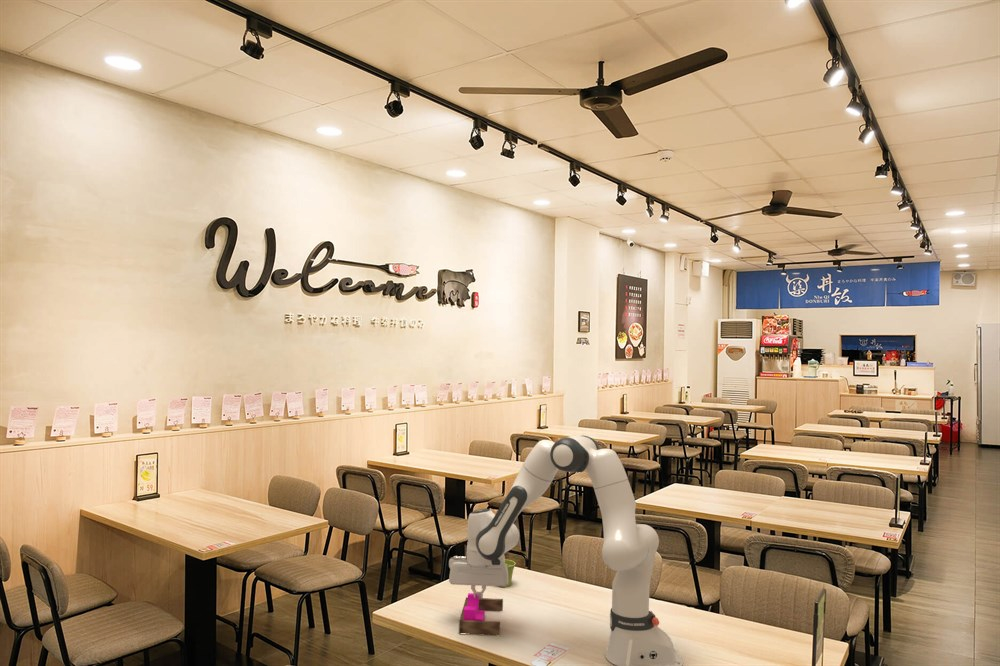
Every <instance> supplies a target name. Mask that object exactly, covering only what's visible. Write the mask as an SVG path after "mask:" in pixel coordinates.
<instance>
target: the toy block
mask: <svg viewBox="0 0 1000 666" xmlns="http://www.w3.org/2000/svg"><path fill="white" fill-rule="evenodd" d="M467 597H468V601H467V606H465V607H464V606H463V607H464V620H473V621H486V620H485V619H486V618H485V617H486V613H485V612H486V611H485V610H479V598H474V593H473V592H471V593H470V592H468V593H467Z"/></svg>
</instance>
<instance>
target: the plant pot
mask: <svg viewBox="0 0 1000 666" xmlns="http://www.w3.org/2000/svg"><path fill="white" fill-rule="evenodd" d="M505 563H506V565H507V569H508V584H507V586H505V587H504V588H507V587H510V586H511V585H512V580H513V573H514V569H515V566H516V564H517V563H516V562H515V561H514V560H511V559H506V558H505ZM498 587H499V588H501V587H502V586H498Z"/></svg>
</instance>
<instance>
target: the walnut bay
mask: <svg viewBox="0 0 1000 666" xmlns="http://www.w3.org/2000/svg"><path fill="white" fill-rule="evenodd" d="M467 601H468V596H467V597H465V600H464V604H463V608H462V611H461V614H460V618H459V622H458V623H459V625H458V628H459V629H458V634H459V633H469V634H468V635H474V634H484V635H483V636H497V635H500V633H501V621H495V620H494V621H493V620H492V621H491V620H485V621H473V620H464V607H465V606H467ZM503 606H504V598H493V597H492V598H490V597H489V598H488V597H487V598H486V597H483V598H482V599H480V598H479V610H485V612H500V611H503Z"/></svg>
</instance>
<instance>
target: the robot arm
mask: <svg viewBox="0 0 1000 666" xmlns="http://www.w3.org/2000/svg"><path fill="white" fill-rule="evenodd" d="M521 465H522V466H521V467H520V470H519V471H518V473H517V475H516V476H515V477H516V478H515V480H514V482H513V484H512V485H511V487H510V489H509V492H508V493H507V495H506V497H505V498H504V500H503V502H502V503H501V505H500V506H499V508H498V509H497V511H496V513H494V512H493V511H492V510H491V509H489V508H479V509H475V510H473V511H471V512H470V513H469V515H468V517H467V518H468V519H467V526H466V528H467V529H466V538H467V543H466V544H467V545H466V555H465V556H463V555H462V556H461V555H460V556H458V555H454V556H453V557H452V556H451V557H450V558H449V560H448V568H449V569H450V570H449V577H448V582H449V584H451V585H455V586H459V585H460V586H470V589H471V591H472V593H474V598H480V599H482V598H484V592H485V591H486V590H487V587H499V586H501V587H502V588H506V587H505V586H507V584H508V569H507V565H506V563H505V559H506V556H505V554H506V553H507V552H509V551H510V550H512V549H514V548H515V547H516V546H517V545H518V543H519V542H520V539H521V538H520V530H519V529H518V527H517V524H515V521H516V519H517V518H518V516H519V515H520V514H521V512H523V510H525V509H526V507H528V506H529V505H531V504H532V503H533V502H535V501H536V500H538V499H540V498H541V497H542V496H543V495H544V494H545V492H547V490H548V488H549V487H550V485H551V484H552V482H553V481H554V478H555V476H556V474H557V473H558V471H561V472H562V471H563V472H565V473H583V472H585V473H586V474H587V475H588V476H589V478H590V481H591V484H592V487H593V489H594V493H595V497H596V500H597V503H598V506H599V509H600V514H601V519H602V531H603V545H602V548H601V557H602V560H603V562H604V563H605V565H606V566H607V567H608V568H609V569H610V570H613V571H615V575H614V579H613V580H612V584H611V585H612V586H611V587H612V588H611V608H610V613H609V627H610V632H609V633H610V634H609V641H608V645H607V649H606V652H605V658H606V659H607V661H609V663H610V664H613V665H614V666H683V660H682V659H683V658H682V657H681V655H680V654H679V653H678V651H676V650H675V647H674V644H673V641H672V638H671V637H670V636H669V635H668V634H667V632H665V631H664V630H662V628H660V627H659V625H660V621H659V618H658V617H656V614H654V612H653V611H652V610H650V586H651V579H652V575H653V569H654V565H655V564H654V563H655V558H656V554H657V550H658V547H659V544H660V537H659V535H658V533H657V531H656V529H654V528H653V527H652V526H650V525H648V524H644V523H643V524H641V523H637V521H636V508H637V502H636V498H635V496H634V493H633V490H632V487H631V484H630V482H629V477H628V475H627V472H626V470H625V468H624V465H623V463H622V461H621V459H620V458H619V456H618V454H617V452H616V451H615V450H614V449H611V448H600V447H599V444H598V442H597V441H596V440H595V439H594V438H592V437H590V436H587V435H570V436H567V437H561V438H559V439H557V441H556V442H554V441H552V440H550V439H542V440H539V441H538V442H537V443H536V444H535V446H534V447H533V448H532V449H531V450H530V452H529V453H528V455H527V456H526V458H525V460H524V462H523V463H522V464H521ZM476 586H479V587H481V591H477V589H476Z"/></svg>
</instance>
